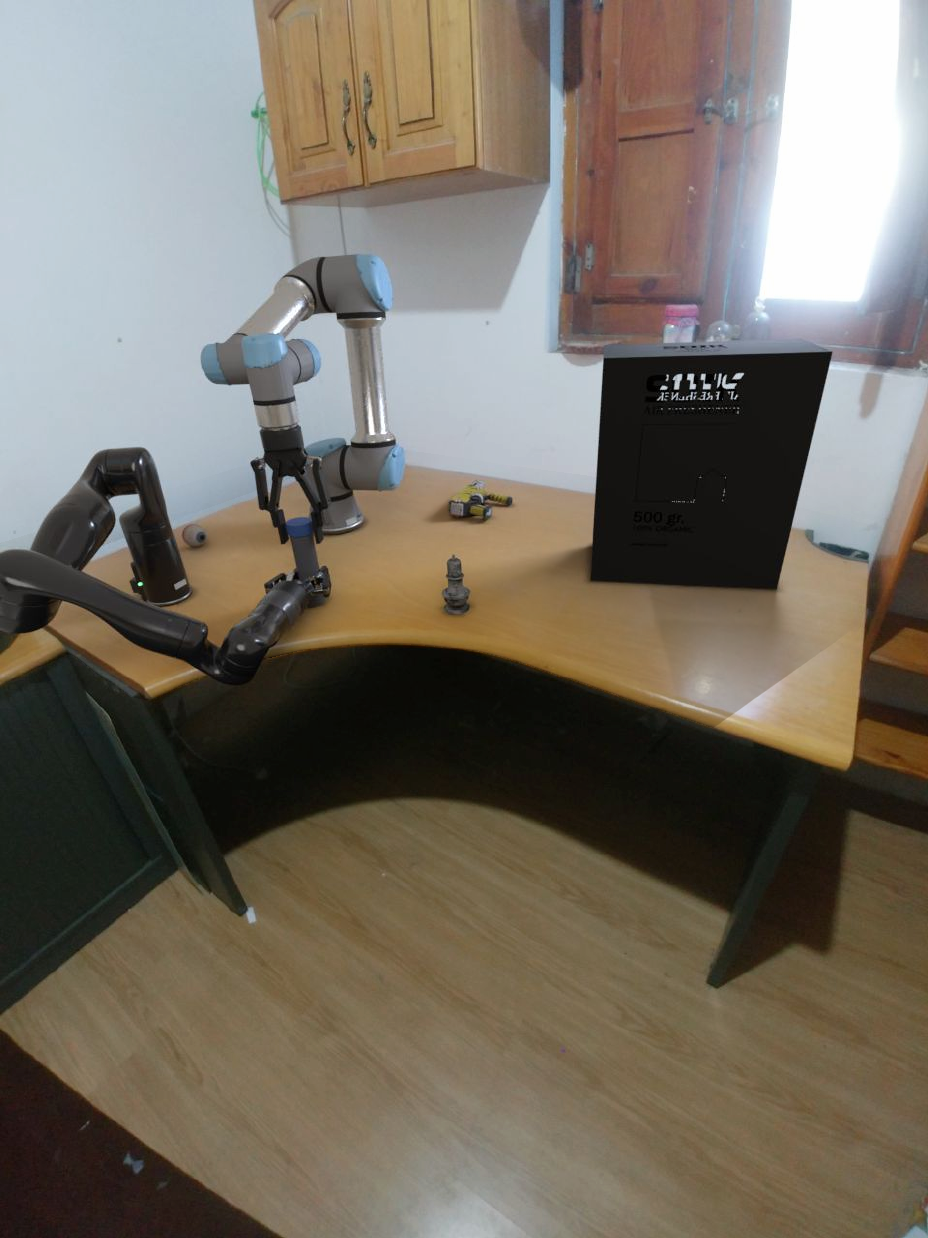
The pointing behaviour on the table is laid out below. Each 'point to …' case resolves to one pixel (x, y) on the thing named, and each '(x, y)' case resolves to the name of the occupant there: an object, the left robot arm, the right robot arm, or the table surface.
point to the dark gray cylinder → (306, 562)
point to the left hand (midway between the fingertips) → (314, 569)
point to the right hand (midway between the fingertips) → (302, 541)
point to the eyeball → (194, 535)
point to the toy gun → (475, 501)
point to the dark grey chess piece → (455, 588)
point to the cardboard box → (703, 460)
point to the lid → (299, 527)
